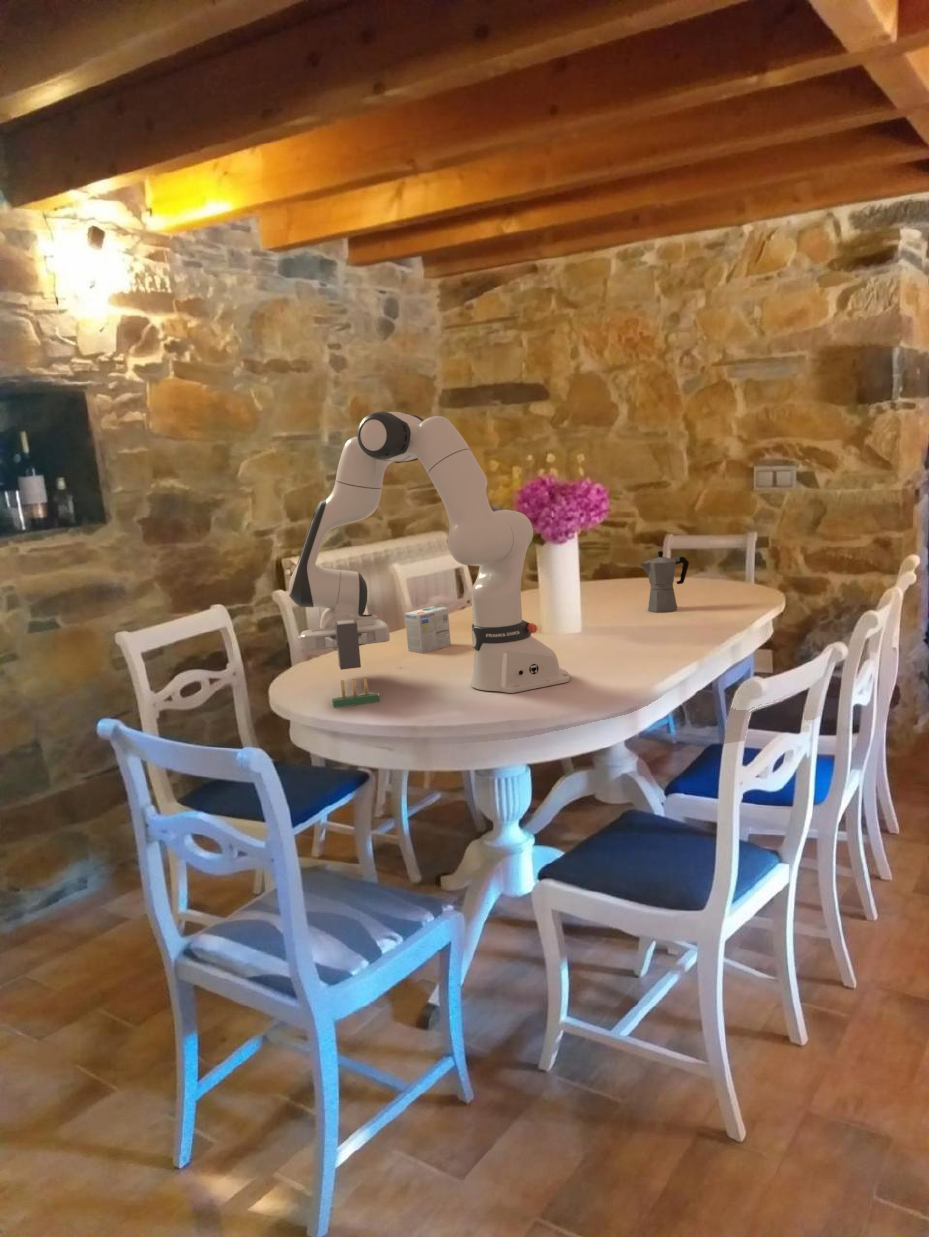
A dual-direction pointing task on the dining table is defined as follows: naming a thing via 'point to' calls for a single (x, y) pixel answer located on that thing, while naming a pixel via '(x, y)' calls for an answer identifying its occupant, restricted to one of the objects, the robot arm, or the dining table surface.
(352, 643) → the block
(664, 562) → the coffeepot
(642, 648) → the dining table surface
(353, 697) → the header strip
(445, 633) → the light bulb box
